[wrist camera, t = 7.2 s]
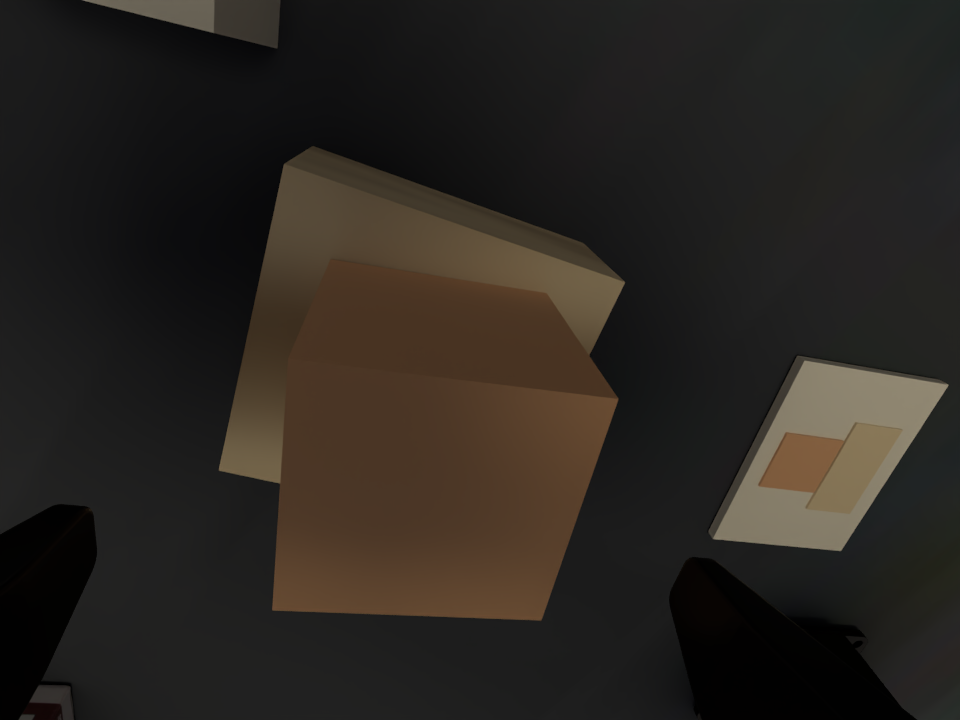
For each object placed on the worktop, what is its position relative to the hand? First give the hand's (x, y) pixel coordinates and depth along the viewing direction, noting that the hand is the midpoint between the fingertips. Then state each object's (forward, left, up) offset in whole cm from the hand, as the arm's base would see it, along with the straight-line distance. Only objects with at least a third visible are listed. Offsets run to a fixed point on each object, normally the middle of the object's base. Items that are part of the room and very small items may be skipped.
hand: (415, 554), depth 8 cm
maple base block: (0, 0, -10) cm, 10 cm away
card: (-3, -16, -10) cm, 19 cm away
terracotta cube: (0, 0, -6) cm, 6 cm away
